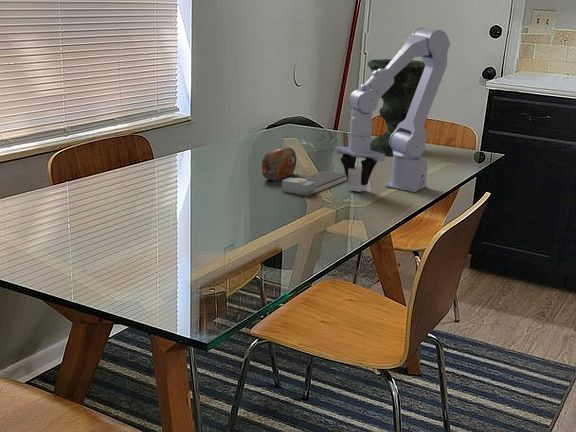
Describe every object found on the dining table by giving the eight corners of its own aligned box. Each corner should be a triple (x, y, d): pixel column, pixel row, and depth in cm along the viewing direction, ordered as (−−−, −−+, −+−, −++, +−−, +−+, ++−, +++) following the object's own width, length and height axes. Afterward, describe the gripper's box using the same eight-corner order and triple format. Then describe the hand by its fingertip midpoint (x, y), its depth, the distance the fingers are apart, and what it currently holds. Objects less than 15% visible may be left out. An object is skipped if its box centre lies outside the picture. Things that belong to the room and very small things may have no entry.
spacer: (367, 188, 207) (368, 167, 205) (360, 191, 204) (361, 170, 202) (354, 186, 209) (355, 165, 208) (347, 189, 206) (348, 168, 204)
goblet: (350, 151, 255) (355, 61, 246) (381, 140, 273) (387, 57, 263) (408, 161, 243) (416, 68, 234) (437, 150, 261) (445, 63, 252)
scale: (348, 179, 219) (349, 167, 218) (306, 196, 200) (306, 183, 199) (325, 174, 223) (325, 163, 222) (281, 191, 204) (281, 178, 203)
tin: (268, 183, 212) (269, 154, 209) (259, 181, 213) (260, 153, 211) (296, 173, 224) (297, 145, 221) (287, 171, 225) (288, 144, 223)
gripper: (329, 133, 203) (327, 181, 207) (377, 140, 195) (374, 190, 199) (342, 129, 208) (340, 176, 212) (389, 136, 201) (386, 185, 205)
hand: (357, 183), depth 206 cm, fingers closed on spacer, 4 cm apart
